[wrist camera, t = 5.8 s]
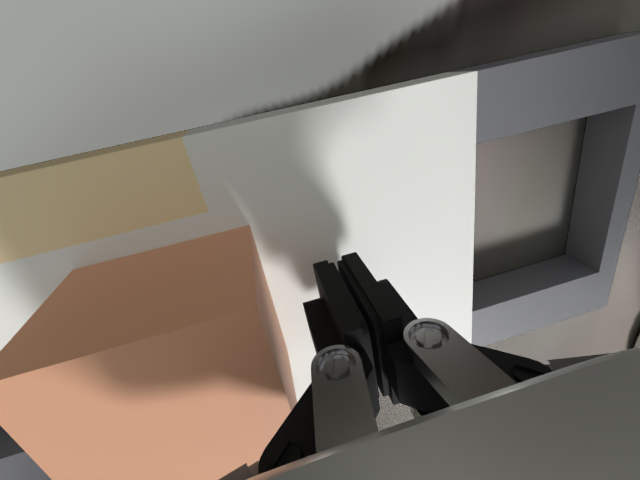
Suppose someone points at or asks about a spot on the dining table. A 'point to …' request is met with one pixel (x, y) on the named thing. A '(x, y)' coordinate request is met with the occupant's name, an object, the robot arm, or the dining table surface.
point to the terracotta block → (151, 366)
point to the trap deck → (347, 198)
